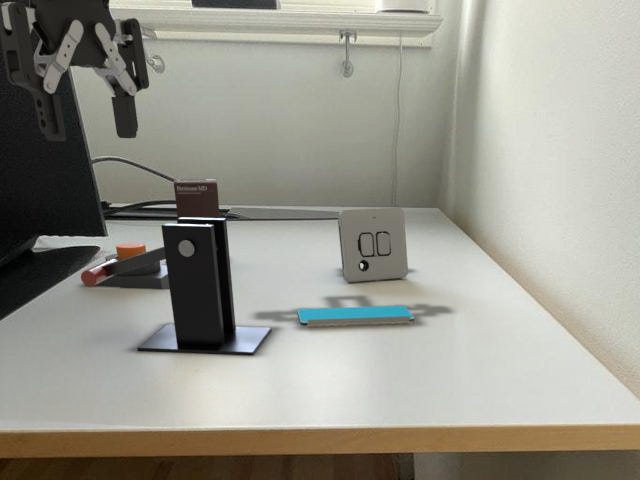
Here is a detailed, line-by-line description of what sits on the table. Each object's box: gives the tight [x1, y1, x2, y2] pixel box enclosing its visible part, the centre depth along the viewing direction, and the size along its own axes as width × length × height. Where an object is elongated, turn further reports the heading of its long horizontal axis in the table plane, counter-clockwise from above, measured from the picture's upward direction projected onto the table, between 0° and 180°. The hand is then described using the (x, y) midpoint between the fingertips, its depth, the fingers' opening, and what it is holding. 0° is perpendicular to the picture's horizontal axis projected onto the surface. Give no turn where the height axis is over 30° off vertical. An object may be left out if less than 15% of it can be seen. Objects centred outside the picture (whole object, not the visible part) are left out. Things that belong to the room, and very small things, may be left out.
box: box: [173, 178, 221, 219], centre depth 95 cm, size 6×4×12 cm
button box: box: [93, 252, 170, 290], centre depth 86 cm, size 10×8×4 cm
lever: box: [80, 223, 219, 288], centre depth 61 cm, size 12×6×2 cm, turn 84°
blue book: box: [297, 305, 415, 328], centre depth 74 cm, size 20×12×2 cm, turn 99°
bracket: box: [136, 217, 273, 357], centre depth 62 cm, size 11×8×12 cm
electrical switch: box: [337, 207, 409, 283], centre depth 92 cm, size 9×5×9 cm, turn 110°
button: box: [115, 242, 147, 259], centre depth 85 cm, size 4×4×2 cm
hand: (93, 139), depth 65 cm, fingers open, 8 cm apart
